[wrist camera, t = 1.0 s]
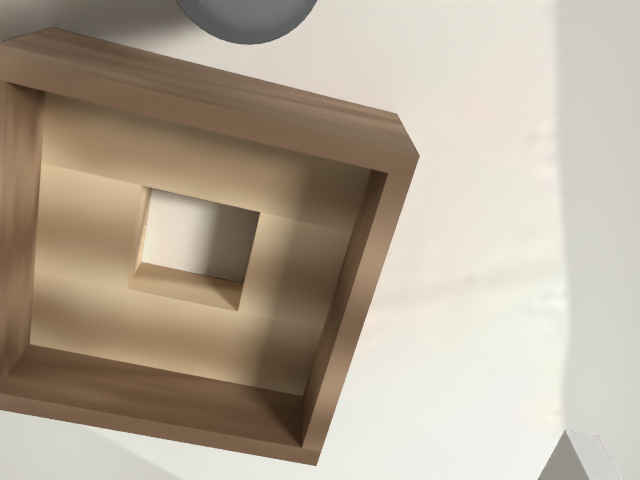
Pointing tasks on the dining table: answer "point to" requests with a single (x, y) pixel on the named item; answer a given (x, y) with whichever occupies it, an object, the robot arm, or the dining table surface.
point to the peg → (247, 18)
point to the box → (175, 285)
